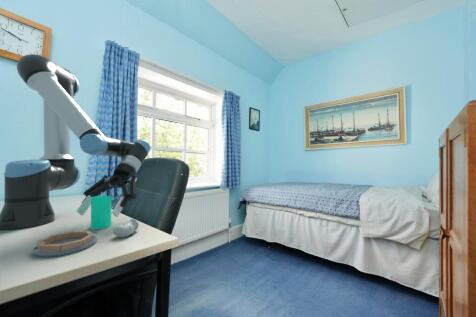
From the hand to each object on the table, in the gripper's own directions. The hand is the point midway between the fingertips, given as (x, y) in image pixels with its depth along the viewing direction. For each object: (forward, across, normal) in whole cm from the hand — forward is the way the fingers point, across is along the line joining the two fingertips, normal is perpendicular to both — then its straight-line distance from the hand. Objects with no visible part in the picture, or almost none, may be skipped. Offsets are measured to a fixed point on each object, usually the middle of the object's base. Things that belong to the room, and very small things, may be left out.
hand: (96, 214), depth 71 cm
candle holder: (+14, -5, +7) cm, 16 cm away
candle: (+2, 0, -5) cm, 5 cm away
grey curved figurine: (+6, -15, -1) cm, 16 cm away
